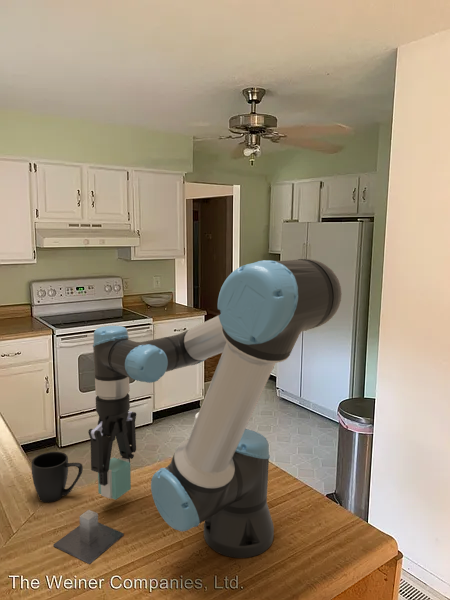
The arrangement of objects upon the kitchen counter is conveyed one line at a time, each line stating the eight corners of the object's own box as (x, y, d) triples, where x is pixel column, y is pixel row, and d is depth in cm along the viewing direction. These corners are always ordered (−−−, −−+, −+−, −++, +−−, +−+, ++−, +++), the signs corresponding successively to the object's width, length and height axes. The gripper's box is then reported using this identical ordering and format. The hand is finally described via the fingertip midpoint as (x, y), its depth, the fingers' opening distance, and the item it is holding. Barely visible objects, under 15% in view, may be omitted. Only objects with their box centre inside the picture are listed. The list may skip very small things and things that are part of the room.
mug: (74, 509, 109) (73, 471, 108) (26, 504, 111) (24, 466, 109) (89, 489, 117) (88, 454, 116) (43, 485, 119) (42, 450, 117)
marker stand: (123, 535, 101) (123, 509, 100) (89, 564, 92) (88, 536, 91) (89, 520, 105) (88, 495, 104) (53, 546, 97) (52, 519, 96)
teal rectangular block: (130, 489, 111) (130, 462, 110) (115, 499, 106) (115, 472, 105) (113, 483, 113) (113, 457, 112) (98, 493, 109) (97, 466, 108)
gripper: (126, 381, 116) (128, 469, 119) (69, 404, 100) (74, 505, 103) (150, 385, 113) (152, 476, 116) (95, 410, 97) (99, 514, 100)
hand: (115, 489), depth 110 cm, fingers closed on teal rectangular block, 5 cm apart
